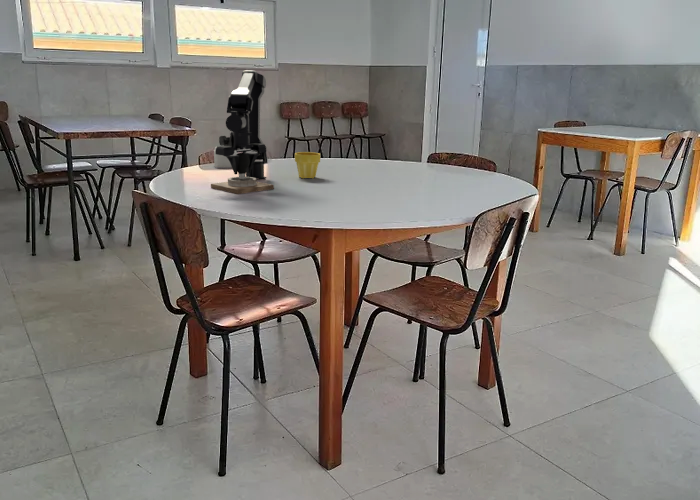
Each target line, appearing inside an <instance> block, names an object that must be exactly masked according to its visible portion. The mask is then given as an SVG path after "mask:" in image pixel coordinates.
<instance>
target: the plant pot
mask: <svg viewBox="0 0 700 500" xmlns="http://www.w3.org/2000/svg"><path fill="white" fill-rule="evenodd" d="M294 162H295V163H296V167H297V174H298V177H299V178H300V177H301V178H300V179H304V178H312V179H315V178H316V176H317V171H318V166H319V163H321V153H319V152H311V151H300V152H299V151H298V152H295V153H294ZM314 177H315V178H314Z"/></svg>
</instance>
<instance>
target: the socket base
mask: <svg viewBox="0 0 700 500" xmlns="http://www.w3.org/2000/svg"><path fill="white" fill-rule="evenodd" d="M257 180H258V179H256V178H253V177H246V176H245V179H244V180H243V181H242V180H240V179H239V176H233V177H228V178H227V181H222V182H215V183H210V189H214V190H219V191H223V192H227V193H231V194H236V195H241V194H248V193H254V192H261V191H262V192H263V191H268V190H269V191H270V190H274V188H275V186H274V184H271V183H266V182H260V181H257Z"/></svg>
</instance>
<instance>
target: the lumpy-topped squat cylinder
mask: <svg viewBox="0 0 700 500" xmlns="http://www.w3.org/2000/svg"><path fill="white" fill-rule="evenodd" d="M216 148H217V146H215V147H214V150H213V157H214V158H213V161H214V162H213V163H214V166H213V167H214V168H218V169H219V168H222V169H223V168H224V169H225V168H228V169H231V168H232V166H231V164H230V161H229V160H228V158H227V157H225V156H223V155H217V154H216V152H215V150H216ZM238 153H239V152H237V154H238Z"/></svg>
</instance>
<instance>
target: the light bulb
mask: <svg viewBox="0 0 700 500" xmlns="http://www.w3.org/2000/svg"><path fill="white" fill-rule="evenodd" d="M237 155H238V156H239V164H238V173H237V175H238V177H239V179H240V180H242V181H243V180H244V179H245V177H246V170H247V167H248V166H249V164H250V158H249V156H248V155H247V154H245V153H243V152H238V154H237Z"/></svg>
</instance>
